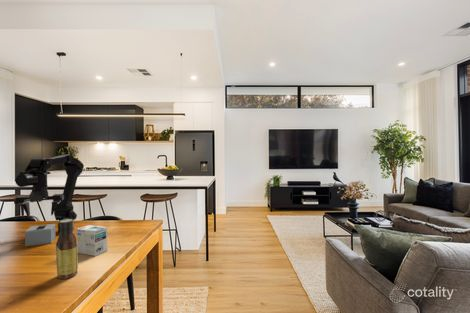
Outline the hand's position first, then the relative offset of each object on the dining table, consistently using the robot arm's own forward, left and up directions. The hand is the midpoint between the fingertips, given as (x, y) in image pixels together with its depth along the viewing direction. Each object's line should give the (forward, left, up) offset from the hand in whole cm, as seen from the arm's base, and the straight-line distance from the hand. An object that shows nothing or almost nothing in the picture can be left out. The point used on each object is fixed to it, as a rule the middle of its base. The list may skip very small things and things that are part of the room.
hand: (40, 216), depth 126 cm
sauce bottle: (-18, +45, -13) cm, 51 cm away
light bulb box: (-24, +24, -13) cm, 37 cm away
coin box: (0, 0, -12) cm, 12 cm away
